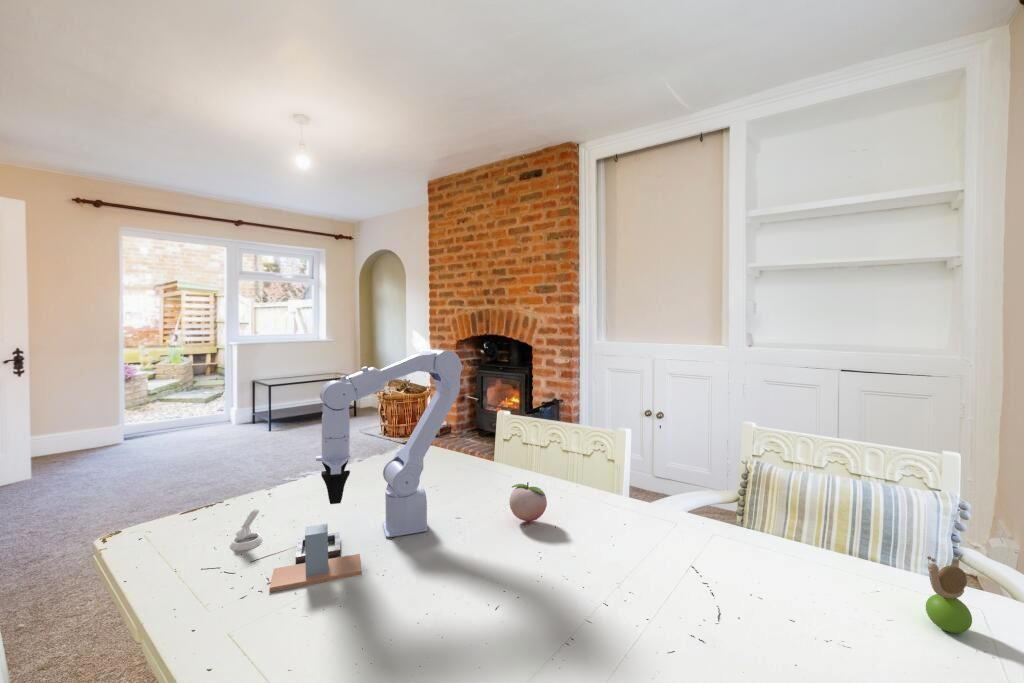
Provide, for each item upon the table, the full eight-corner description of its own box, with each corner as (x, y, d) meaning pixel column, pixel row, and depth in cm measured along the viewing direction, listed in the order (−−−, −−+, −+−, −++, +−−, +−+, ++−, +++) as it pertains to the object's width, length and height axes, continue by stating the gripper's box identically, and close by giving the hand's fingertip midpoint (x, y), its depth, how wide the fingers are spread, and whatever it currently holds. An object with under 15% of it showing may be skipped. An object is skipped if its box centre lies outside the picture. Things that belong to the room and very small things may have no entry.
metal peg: (328, 562, 93) (327, 523, 93) (328, 572, 89) (327, 532, 89) (306, 566, 92) (305, 526, 91) (305, 577, 88) (304, 535, 88)
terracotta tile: (359, 557, 97) (359, 553, 97) (361, 574, 90) (361, 570, 90) (273, 572, 91) (273, 568, 91) (269, 592, 84) (269, 587, 84)
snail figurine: (910, 619, 77) (913, 548, 76) (945, 617, 77) (948, 547, 77) (943, 642, 71) (947, 566, 71) (981, 640, 72) (985, 564, 71)
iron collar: (339, 538, 105) (339, 532, 105) (340, 556, 97) (340, 549, 97) (298, 545, 102) (298, 538, 102) (295, 564, 94) (295, 557, 94)
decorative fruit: (503, 526, 111) (502, 485, 111) (515, 513, 119) (515, 474, 118) (540, 533, 108) (540, 491, 107) (550, 519, 115) (550, 479, 115)
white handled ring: (270, 531, 99) (244, 519, 98) (247, 565, 101) (221, 553, 99) (281, 513, 105) (257, 501, 104) (259, 545, 107) (235, 533, 105)
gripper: (316, 429, 107) (316, 487, 108) (314, 445, 94) (314, 511, 94) (349, 427, 110) (348, 484, 110) (351, 442, 96) (351, 507, 97)
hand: (335, 496), depth 102 cm, fingers open, 7 cm apart
